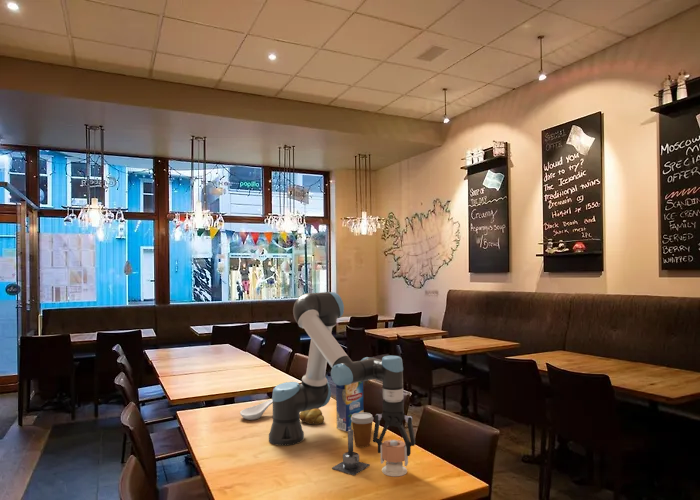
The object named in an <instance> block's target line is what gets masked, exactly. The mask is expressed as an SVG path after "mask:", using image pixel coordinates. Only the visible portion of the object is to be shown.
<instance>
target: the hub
mask: <svg viewBox="0 0 700 500" xmlns="http://www.w3.org/2000/svg"><path fill="white" fill-rule="evenodd" d="M391 440H392V441H390V446H398V442H397V441H395V440H396V439H391ZM403 462H404V461H401V462H397V463H395V462H387V461H386V460H385V465H384V466H382V468H381V472H382V474H384V476H385V475H386V476H388V477H394V478H395V477H398V478H399V477H402V476H405V475H406V474H407V473H408V469H407V467H406V466H405V465H403V464H404V463H403Z"/></svg>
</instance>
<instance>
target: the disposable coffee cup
mask: <svg viewBox="0 0 700 500" xmlns="http://www.w3.org/2000/svg"><path fill="white" fill-rule="evenodd" d="M374 420H375V417H373V414H371V413H370V412H360V413H355V414H353V415H352V417H351V421H352V425H353V441H354V445H355V446H356V447H357V448H367V447H370V446H371V440H372V439H371V438H372V429H373V421H374Z"/></svg>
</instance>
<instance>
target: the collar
mask: <svg viewBox="0 0 700 500" xmlns="http://www.w3.org/2000/svg"><path fill="white" fill-rule="evenodd" d="M392 440H393V439H388V440H383V441H382V443H383V444H382V459H384V461H385V462H386V461H387V462H395V463H397V462H401V461H402V462H405V455H404V447H405V445H406V444H405V442H404V440H401V439H394V440H395V441H397V442H398V446H390V441H392Z"/></svg>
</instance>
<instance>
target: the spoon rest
mask: <svg viewBox="0 0 700 500" xmlns="http://www.w3.org/2000/svg"><path fill="white" fill-rule="evenodd" d="M271 405H273V400H272V399H267V400H266V401H263V402H261V403H259V404H256V405H253V406H250V407H246V408H244V409H242V410H240V411H239V414H240V417H242V418H243V419H244V420H249V421H255V420H258V419H260V418H261V417H262V416H263V415H264V413H265V412H266V411H267V409H268V408H269V407H270V406H271Z"/></svg>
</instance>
